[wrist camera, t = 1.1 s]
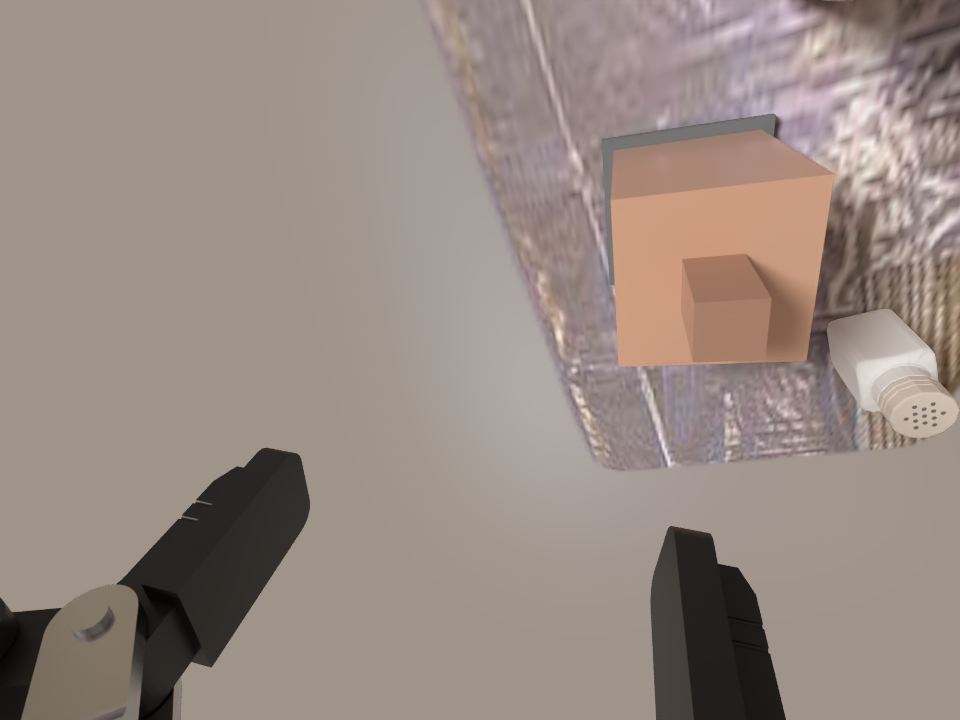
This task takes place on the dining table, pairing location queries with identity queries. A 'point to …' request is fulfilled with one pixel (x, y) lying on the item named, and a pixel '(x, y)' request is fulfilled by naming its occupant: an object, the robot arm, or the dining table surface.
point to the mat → (666, 137)
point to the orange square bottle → (716, 250)
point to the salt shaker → (891, 372)
